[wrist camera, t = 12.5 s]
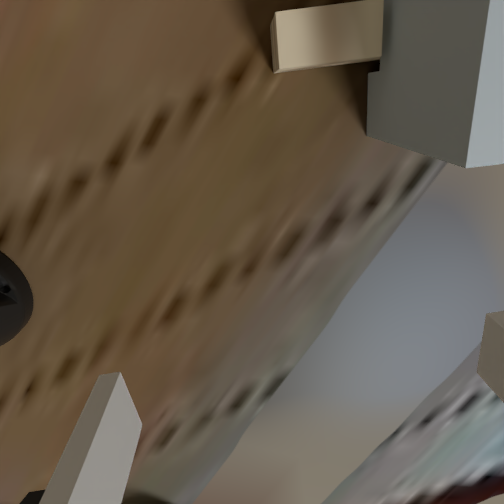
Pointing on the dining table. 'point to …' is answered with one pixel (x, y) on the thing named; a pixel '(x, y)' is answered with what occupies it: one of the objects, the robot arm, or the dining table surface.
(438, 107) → the grey board
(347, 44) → the maple rail
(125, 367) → the dining table surface
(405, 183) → the dining table surface
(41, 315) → the dining table surface
